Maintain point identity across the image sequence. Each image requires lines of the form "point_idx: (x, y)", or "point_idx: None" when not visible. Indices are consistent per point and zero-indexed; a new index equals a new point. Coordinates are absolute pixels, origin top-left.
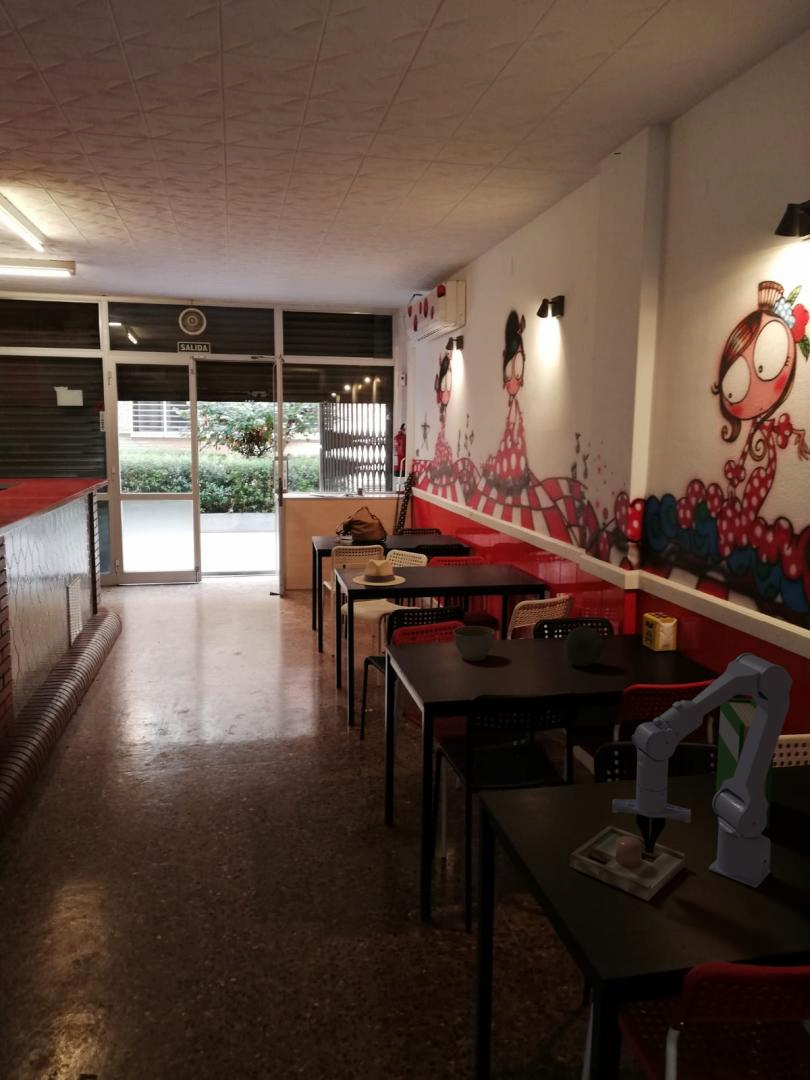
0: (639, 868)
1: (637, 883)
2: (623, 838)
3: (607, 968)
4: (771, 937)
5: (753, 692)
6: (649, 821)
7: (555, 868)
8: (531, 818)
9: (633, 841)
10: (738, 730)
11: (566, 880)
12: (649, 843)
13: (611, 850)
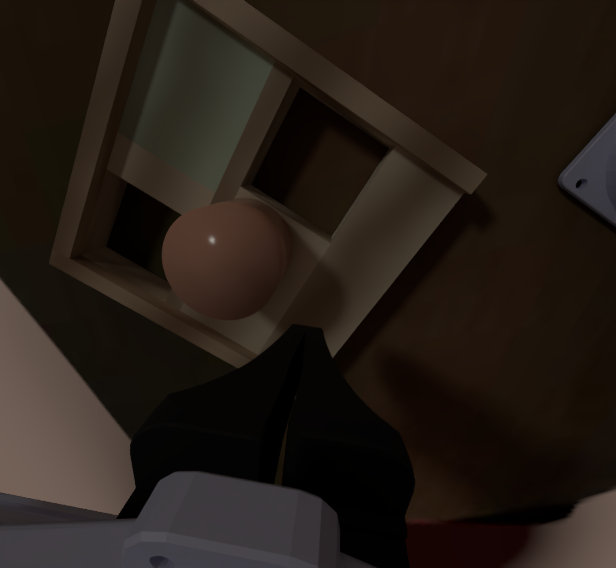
0: (284, 287)
1: None
2: (191, 232)
3: None
4: (577, 464)
5: None
6: (270, 462)
7: (54, 267)
8: None
9: (239, 253)
10: None
11: (99, 318)
12: (297, 379)
13: (182, 179)
